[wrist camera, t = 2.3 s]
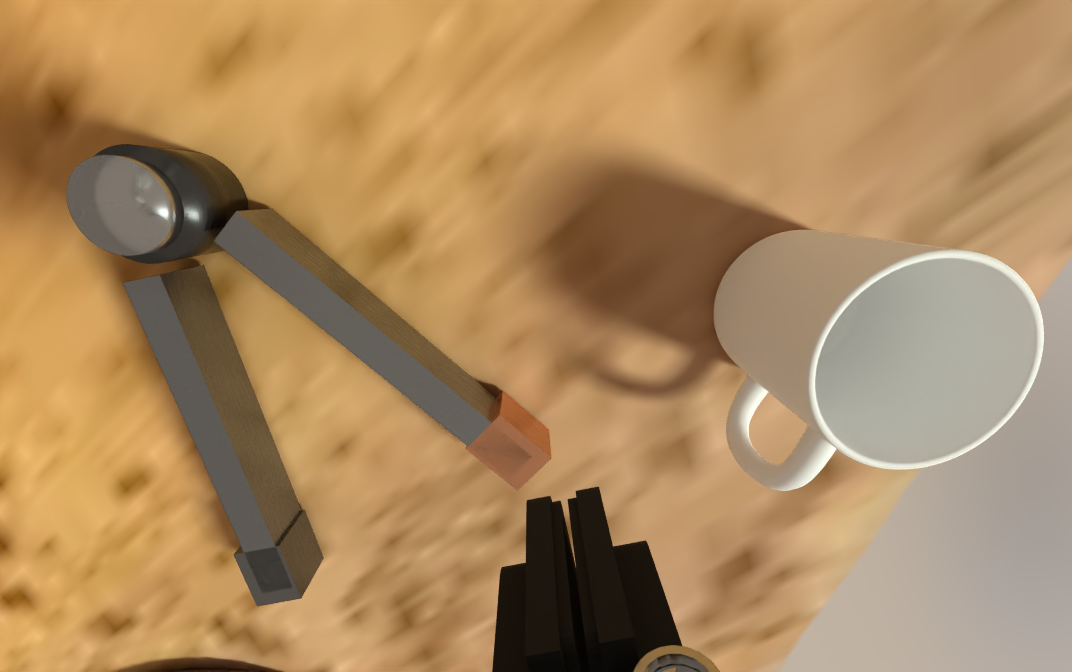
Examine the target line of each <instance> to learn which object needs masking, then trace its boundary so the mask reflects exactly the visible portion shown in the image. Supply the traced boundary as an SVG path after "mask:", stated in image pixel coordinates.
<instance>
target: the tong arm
mask: <svg viewBox="0 0 1072 672" xmlns="http://www.w3.org/2000/svg"><path fill="white" fill-rule="evenodd" d="M67 203H68V208H69V211H70V214H71V216H72V218H73V220H74V222H75V224H76V225H77V227H78V228H79V229H80V231H81V232H82V233H83V234H84V235H85V236H86V237H87V238H88V239H89V240H90V241H91V242H92V243H94V244H95V245H97V246H98V247H100V248H102V249H104V250H106V251H108V252H111V253H114V254H118V255H124V256H132V255H140V254H146V253H152V252H157V251H160V250H163V249H165V248H167V247H168V246H170V245H171V244H172V243H173V242H174V241H175V240H176V239H177V237H178V236H179V234H180V232H181V229H182V226H183V221H184V209H183V204H182V200H181V197H180V195H179V192H178V191H177V189H176V187H175V185H174V184H173V183H172V181H171V180H170V179H169V178H168V176H167V175H166V174H165V173H163V172H162V171H161V170H160V169H159V168H157V167H156V166H154V165H152V164H151V163H149V162H147V161H144V160H142V159H138V158H134V157H125V156H114V155H99V156H94V157H91V158H89V159H86V160H85V161H83V162H81V163H80V164H79V165H78V166H77V167H76V168H75V169H74V171H73V172H72V174H71V176H70V178H69V181H68V185H67ZM214 242H216V243H217V244H218V245H219V246H220V247H222V248H223V249H224V250H225V251H227V252H228V253H229V254H230V255H232V256H233V257H234V258H235V259H237V260H238V261H239V262H240V263H242V264H243V265H244V266H245V267H247V268H248V269H249V270H250V271H251V272H253V273H254V274H255V275H256V276H258V277H259V278H260V279H261V280H263V281H264V282H265V283H266V284H268V285H269V286H270V287H271V288H273V289H274V290H275V291H276V292H278V293H279V294H280V295H281V296H282V297H284V298H285V299H286V300H287V301H289V302H290V303H291V304H292V305H294V306H295V307H296V308H297V309H299V310H300V311H301V312H302V313H304V314H305V315H306V316H307V317H309V318H310V319H311V320H312V321H313V322H315V323H316V324H317V325H318V326H320V327H321V328H322V329H323V330H325V331H326V332H327V333H328V334H330V335H331V336H332V337H333V338H335V339H336V340H337V341H338V342H340V343H341V344H342V345H343V346H344V347H346V348H347V349H348V350H349V351H351V352H352V353H353V354H354V355H356V356H357V357H358V358H359V359H361V360H362V361H363V362H364V363H366V364H367V365H368V366H369V367H371V368H372V369H373V370H374V371H375V372H377V373H378V374H379V375H380V376H382V377H383V378H384V379H385V380H387V381H388V382H389V383H390V384H392V385H393V386H394V387H395V388H397V389H398V390H399V391H400V392H401V393H403V394H404V395H405V396H406V397H408V398H409V399H410V400H411V401H413V402H414V403H415V404H416V405H418V406H419V407H420V408H421V409H423V410H424V411H425V412H426V413H428V414H429V415H430V416H431V417H432V418H434V419H435V420H436V421H437V422H439V423H440V424H441V425H442V426H444V427H445V428H446V429H447V430H449V431H450V432H451V433H452V434H454V435H455V436H456V437H457V438H459V439H460V440H461V441H462V442H463V443H465V444H466V445H467V446H466V450H468V451H469V452H470V453H471V454H473V455H474V456H475V457H476V458H478V459H479V460H480V461H481V462H483V463H484V464H485V465H486V466H488V467H489V468H490V469H491V470H493V471H494V472H495V473H496V474H498V475H499V476H500V477H501V478H503V479H504V480H505V481H506V482H507V483H509V484H510V485H511V486H512V487H514V488H515V489H516V490H518V489H519V488H521V487H522V486H523V485H524V484H525V483H526V482H527V481H528V480H529V479H530V478H531V477H532V476H533V475H534V474H535V473H536V472H537V471H539V470H540V469H541V468H542V467H543V466H544V465H545V464H546V463H547V462H548V461H549V460H550V459H551V448H550V436H549V429H547V428H546V427H545V426H544V425H543V424H542V423H540V422H539V421H538V420H537V419H536V418H535V417H533V416H532V415H531V414H530V413H529V412H528V411H526V410H525V409H524V408H523V407H522V406H520V405H519V404H518V403H517V402H516V401H515V400H513V399H512V398H511V397H510V396H509V395H508V394H506V393H505V392H504V391H502V392H501V393H500V394H499V395H498V396H497V397H494V396H493V395H492V394H491V393H490V392H488V391H487V390H486V389H485V388H484V387H483V386H481V385H480V384H479V383H478V382H477V381H475V380H474V379H473V378H472V377H471V376H470V375H468V374H467V373H466V372H465V371H464V370H462V369H461V368H460V367H459V366H458V365H457V364H455V363H454V362H453V361H452V360H451V359H449V358H448V357H447V356H446V355H445V354H444V353H442V352H441V351H440V350H439V349H438V348H436V347H435V346H434V345H433V344H432V343H431V342H429V341H428V340H427V339H426V338H425V337H423V336H422V335H421V334H420V333H419V332H418V331H416V330H415V329H414V328H413V327H412V326H410V325H409V324H408V323H407V322H406V321H405V320H403V319H402V318H401V317H400V316H399V315H397V314H396V313H395V312H394V311H393V310H391V309H390V308H389V307H388V306H387V305H386V304H384V303H383V302H382V301H381V300H380V299H378V298H377V297H376V296H375V295H374V294H373V293H371V292H370V291H369V290H368V289H367V288H365V287H364V286H363V285H362V284H361V283H360V282H358V281H357V280H356V279H355V278H354V277H352V276H351V275H350V274H349V273H348V272H347V271H345V270H344V269H343V268H342V267H341V266H339V265H338V264H337V263H336V262H335V261H334V260H332V259H331V258H330V257H329V256H328V255H326V254H325V253H324V252H323V251H322V250H321V249H319V248H318V247H317V246H316V245H315V244H313V243H312V242H311V241H310V240H309V239H308V238H306V237H305V236H304V235H303V234H302V233H300V232H299V231H298V230H297V229H296V228H295V227H293V226H292V225H291V224H290V223H289V222H287V221H286V220H285V219H284V218H283V217H281V216H280V215H279V214H278V213H277V212H276V211H274V210H273V209H260V210H245V211H236V212H235V214H234V215H233V216H232V218H231V219H230V220H229V221H228V223H227V224H226V225H225V227H224V228H223V229H222V231H221V232H220V233H219V235H218V236H217V237H216V239H215V240H214Z"/></svg>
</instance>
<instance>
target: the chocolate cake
mask: <svg viewBox="0 0 1072 672" xmlns="http://www.w3.org/2000/svg"><path fill="white" fill-rule="evenodd" d="M172 672H264V671H247V670H176V671H172Z"/></svg>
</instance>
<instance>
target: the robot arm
mask: <svg viewBox="0 0 1072 672" xmlns="http://www.w3.org/2000/svg"><path fill="white" fill-rule="evenodd" d="M576 497H577V498H572V499H568V506H569V514H570V522H571V530H572V538H573V546H574V554H575V562H576V566H575V562H574V557H573V553H572V548H571V544H570V539H569V535H568V531H567V526H566V522H565V517H564V513H563V508H562V504H561V501H556V502H552V499H551V497H550V496H547V497H542V498H536V499H531V500H527V512H526V563H522V564H517V565H511V566H506V567H502V569H501V572H500V582H499V595H498V607H497V620H496V633H495V645H494V658H493V671H492V672H720V671H719V669H718V668H717V667H716V666H715V664H714V663H713V662H712V661H711V660H710V659H709V658H707V657H706V656H705V655H703V654H702V653H700V652H699V651H696V650H693V649H691V648H688V647H685V646H682V644H681V641H680V638H679V635H678V632H677V629H676V626H675V623H674V620H673V617H672V614H671V611H670V608H669V605H668V602H667V599H666V596H665V593H664V590H663V587H662V585H661V582H660V579H659V576H658V573H657V570H656V567H655V564H654V561H653V558H652V555H651V552H650V549H649V546H648V544H647V542H646V541H641V542H636V543H630V544H625V545H619V546H614V547H613V545H612V540H611V536H610V532H609V528H608V524H607V519H606V515H605V511H604V507H603V502H602V498H601V494H600V490H599V487H594V488H589V489H584V490H578V491H576Z"/></svg>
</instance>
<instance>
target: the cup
mask: <svg viewBox="0 0 1072 672" xmlns="http://www.w3.org/2000/svg"><path fill="white" fill-rule="evenodd" d="M713 315H714V326H715V330H716V334H717V337H718V339H719V342H720V344H721V346H722V347H723V349H724V350H725V352H726V353H727V355H728V356H729V357H730V358H731V359H732V361H733V362H734V363H735V364H737V365H738V366H739V367H740V368H741V369H742V370H743V371H744V372H746V373H747V376H746V378H745V380H744V381H743V383H742V385H741V386H740V388H739V390H738V392H737V393H736V395H735V397H734V400H733V402H732V404H731V407H730V410H729V413H728V417H727V423H726V436H727V441H728V445H729V448H730V450H731V452H732V454H733V456H734V458H735V460H736V461H737V462H738V464H739V465H740V466H741V468H742V469H743V470H744V471H745V472H746V473H747V474H748V475H750V476H751V477H752V478H753V479H755V480H756V481H757V482H759V483H760V484H762V485H764V486H766V487H769V488H772V489H776V490H781V491H788V490H792V489H797V488H799V487H802V486H804V485H805V484H807V483H808V482H810V481H811V480H812V479H813V478H814V477H815V476H816V475H817V474H818V473H819V472H820V471H821V470H822V468H823V467H824V466H825V464H826V463H827V462H828V460H829V459H830V458H831V456H832V455H833V453H834V452H835V450H836V449H838V450H839V451H840V452H842V453H843V454H845V455H846V456H848V457H850V458H851V459H854V460H856V461H858V462H860V463H863V464H866V465H869V466H874V467H878V468H886V469H915V468H922V467H927V466H932V465H935V464H939V463H942V462H945V461H947V460H950V459H953V458H955V457H957V456H959V455H961V454H964V453H965V452H967V451H969V450H971V449H973V448H974V447H976V446H977V445H979V444H980V443H982V442H983V441H985V440H986V439H987V438H988V437H990V436H991V435H992V434H994V433H995V432H996V431H997V430H998V429H999V428H1000V427H1001V426H1003V425H1004V423H1005V422H1006V421H1007V420H1008V419H1009V418H1010V417H1011V416H1012V415H1013V413H1014V412H1015V411H1016V410H1017V408H1018V407H1019V406H1020V404H1021V403H1022V401H1023V400H1024V398H1025V397H1026V395H1027V393H1028V391H1029V390H1030V388H1031V386H1032V384H1033V381H1034V379H1035V377H1036V374H1037V371H1038V368H1039V365H1040V361H1041V357H1042V352H1043V351H1042V350H1043V344H1044V329H1043V320H1042V315H1041V311H1040V308H1039V305H1038V302H1037V300H1036V298H1035V296H1034V294H1033V292H1032V291H1031V289H1030V288H1029V286H1028V285H1027V284H1026V282H1025V281H1024V280H1023V279H1022V278H1021V277H1020V276H1019V275H1018V274H1017V273H1016V272H1015V271H1014V270H1013V269H1011V268H1010V267H1009V266H1007V265H1006V264H1004V263H1002V262H1001V261H999V260H997V259H995V258H993V257H990V256H987V255H985V254H981V253H977V252H974V251H967V250H960V249H953V248H945V247H938V246H930V245H923V244H916V243H908V242H901V241H893V240H886V239H878V238H871V237H864V236H856V235H849V234H841V233H834V232H826V231H818V230H792V231H786V232H781V233H777V234H774V235H771V236H769V237H766V238H764V239H762V240H760V241H758V242H757V243H755V244H753V245H752V246H751V247H749V248H748V249H747V250H745V251H744V252H743V253H742V254H741V255H740V256H739V257H738V258H737V259H736V260H735V261H734V262H733V263H732V264H731V266H730V267H729V268H728V270H727V271H726V273H725V275H724V276H723V278H722V280H721V282H720V285H719V287H718V290H717V293H716V297H715V303H714V314H713ZM768 392H769V393H770V394H772V395H773V396H774V397H775V398H776V399H778V400H779V401H780V402H781V403H782V404H784V405H785V406H786V407H787V408H788V409H790V410H791V411H792V412H793V413H794V414H796V415H797V416H798V417H799V418H801V419H802V420H803V421H804V422H805V423H807V424H808V426H807V428H806V429H805V431H804V433H803V435H802V436H801V438H800V440H799V441H798V443H797V445H796V446H795V448H794V450H793V451H792V453H791V454H790V455H789V457H788V458H787V459H786V460H785V461H784V462H783V463H781V464H774V463H771V462H769V461H767V460H766V459H764V458H763V457H762V456H760V455H759V453H758V452H757V451H756V450H755V449H754V447H753V446H752V444H751V442H750V438H749V424H750V420H751V418H752V415H753V413H754V412H755V410H756V408H757V407H758V405H759V404H760V402H761V401H762V399H763V398H764V397H765V395H766V394H767V393H768Z"/></svg>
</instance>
